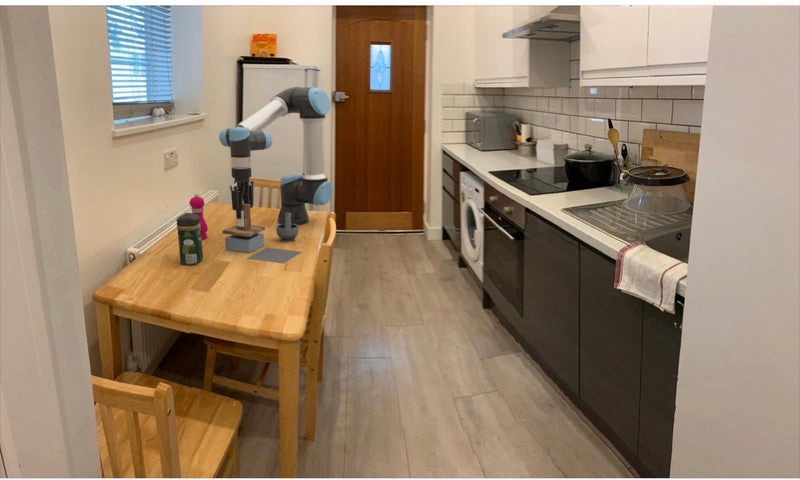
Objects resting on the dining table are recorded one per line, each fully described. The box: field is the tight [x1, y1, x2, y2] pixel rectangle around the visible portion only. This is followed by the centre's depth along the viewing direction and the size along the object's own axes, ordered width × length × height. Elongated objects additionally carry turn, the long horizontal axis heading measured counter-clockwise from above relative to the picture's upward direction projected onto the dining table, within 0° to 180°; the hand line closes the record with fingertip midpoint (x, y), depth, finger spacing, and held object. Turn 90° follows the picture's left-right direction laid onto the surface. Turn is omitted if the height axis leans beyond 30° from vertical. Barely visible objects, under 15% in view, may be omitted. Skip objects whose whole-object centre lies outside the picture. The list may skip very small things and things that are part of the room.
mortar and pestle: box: [275, 213, 300, 243], centre depth 235 cm, size 11×9×12 cm
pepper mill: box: [189, 192, 209, 241], centre depth 234 cm, size 7×7×20 cm
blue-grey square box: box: [224, 232, 265, 254], centre depth 222 cm, size 11×11×6 cm
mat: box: [246, 247, 303, 264], centre depth 215 cm, size 16×16×1 cm
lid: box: [222, 202, 266, 237], centre depth 219 cm, size 12×12×11 cm
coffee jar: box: [176, 212, 204, 266], centre depth 204 cm, size 10×8×19 cm
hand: (243, 224), depth 220 cm, fingers closed on lid, 4 cm apart
